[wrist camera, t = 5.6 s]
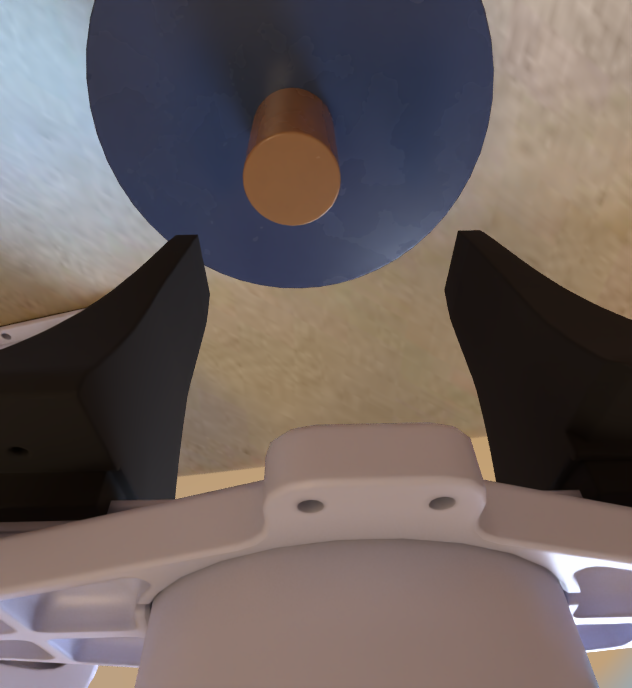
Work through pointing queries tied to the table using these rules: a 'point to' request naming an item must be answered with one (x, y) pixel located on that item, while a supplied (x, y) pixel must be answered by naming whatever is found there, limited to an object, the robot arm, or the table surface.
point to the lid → (291, 125)
